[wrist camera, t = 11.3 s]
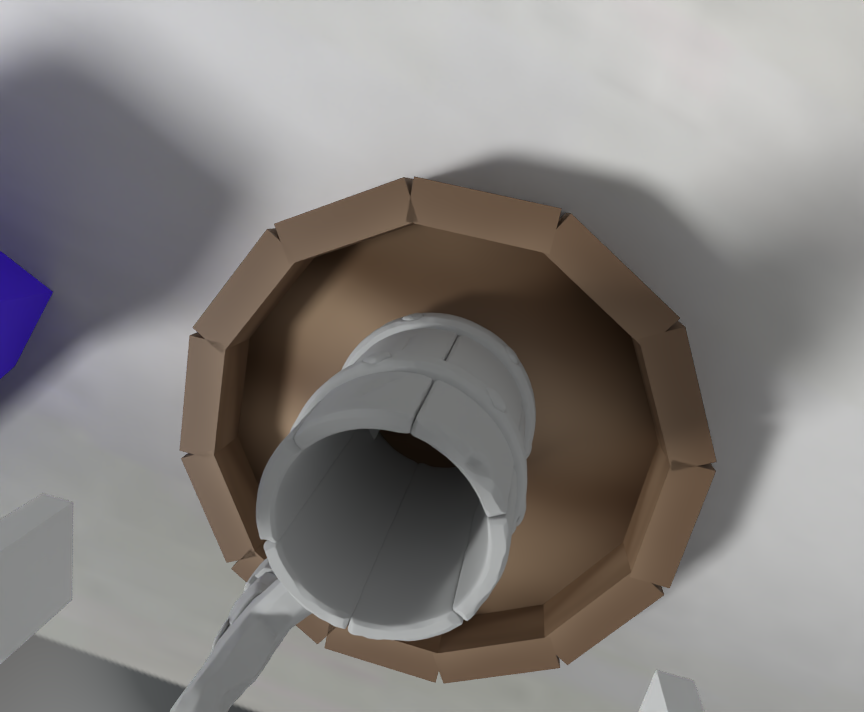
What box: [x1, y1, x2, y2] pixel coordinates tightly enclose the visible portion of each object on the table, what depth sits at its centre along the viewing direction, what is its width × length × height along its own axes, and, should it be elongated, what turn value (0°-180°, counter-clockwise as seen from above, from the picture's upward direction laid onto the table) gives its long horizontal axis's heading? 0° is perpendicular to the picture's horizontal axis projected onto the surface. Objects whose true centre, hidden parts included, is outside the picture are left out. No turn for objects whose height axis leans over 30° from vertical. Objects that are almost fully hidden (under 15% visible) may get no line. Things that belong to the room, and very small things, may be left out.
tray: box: [180, 177, 716, 683], centre depth 23 cm, size 20×20×3 cm
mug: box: [170, 313, 536, 712], centre depth 18 cm, size 8×12×12 cm, turn 136°
